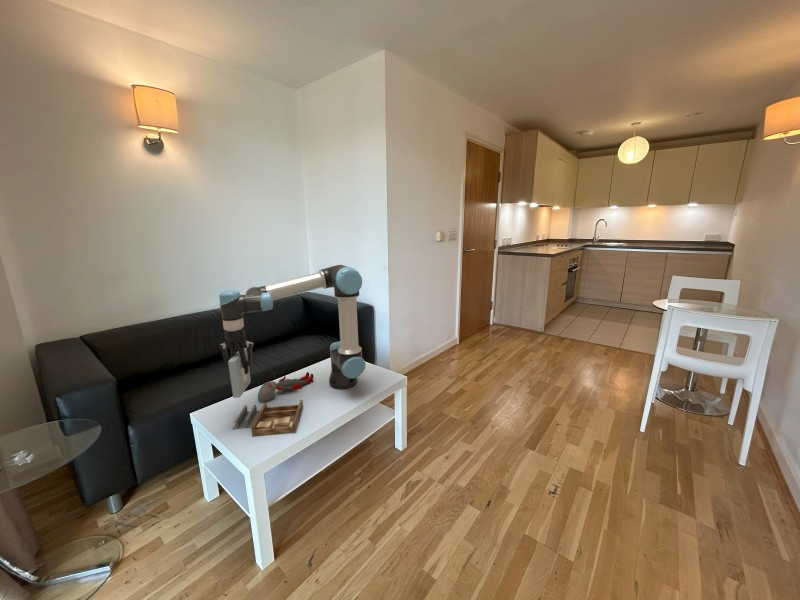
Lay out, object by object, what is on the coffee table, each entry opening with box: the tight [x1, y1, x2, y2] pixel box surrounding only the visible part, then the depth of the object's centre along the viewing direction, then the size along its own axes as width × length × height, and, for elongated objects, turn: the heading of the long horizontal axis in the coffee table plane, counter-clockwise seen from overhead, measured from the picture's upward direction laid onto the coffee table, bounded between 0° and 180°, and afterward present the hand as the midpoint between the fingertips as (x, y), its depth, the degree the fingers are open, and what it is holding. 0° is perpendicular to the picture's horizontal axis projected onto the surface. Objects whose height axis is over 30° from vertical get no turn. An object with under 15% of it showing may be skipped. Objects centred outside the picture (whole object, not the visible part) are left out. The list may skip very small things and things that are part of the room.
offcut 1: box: [256, 422, 272, 429], centre depth 135 cm, size 5×4×3 cm
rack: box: [250, 399, 304, 437], centre depth 141 cm, size 17×19×5 cm
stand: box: [231, 404, 260, 431], centre depth 143 cm, size 13×8×4 cm, turn 7°
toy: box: [257, 371, 314, 403], centre depth 168 cm, size 16×10×30 cm
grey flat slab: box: [228, 347, 252, 399], centre depth 138 cm, size 14×3×16 cm, turn 7°
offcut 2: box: [274, 417, 290, 428], centre depth 135 cm, size 6×4×2 cm, turn 103°
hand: (241, 380), depth 139 cm, fingers closed on grey flat slab, 3 cm apart
